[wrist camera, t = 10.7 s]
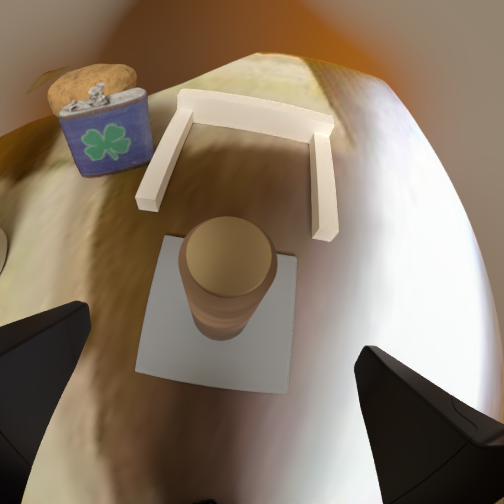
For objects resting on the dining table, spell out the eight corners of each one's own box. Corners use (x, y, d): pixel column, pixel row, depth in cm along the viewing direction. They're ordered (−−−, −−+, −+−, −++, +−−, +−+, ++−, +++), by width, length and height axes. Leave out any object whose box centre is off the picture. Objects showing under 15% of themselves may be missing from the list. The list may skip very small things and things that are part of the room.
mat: (286, 393, 19) (287, 394, 19) (136, 371, 18) (134, 371, 18) (295, 258, 25) (297, 257, 24) (165, 237, 24) (164, 234, 23)
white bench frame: (330, 241, 26) (348, 221, 23) (139, 209, 24) (130, 183, 21) (322, 138, 33) (332, 116, 30) (182, 112, 32) (182, 88, 28)
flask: (155, 149, 28) (145, 69, 19) (155, 167, 27) (144, 83, 17) (81, 164, 26) (54, 92, 16) (78, 183, 25) (45, 109, 15)
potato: (75, 99, 31) (65, 60, 24) (150, 97, 33) (147, 51, 25) (43, 139, 27) (26, 97, 20) (123, 139, 28) (111, 86, 21)
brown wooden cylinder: (206, 349, 20) (201, 321, 10) (184, 299, 21) (163, 228, 11) (257, 326, 21) (299, 277, 11) (233, 279, 23) (252, 198, 13)
